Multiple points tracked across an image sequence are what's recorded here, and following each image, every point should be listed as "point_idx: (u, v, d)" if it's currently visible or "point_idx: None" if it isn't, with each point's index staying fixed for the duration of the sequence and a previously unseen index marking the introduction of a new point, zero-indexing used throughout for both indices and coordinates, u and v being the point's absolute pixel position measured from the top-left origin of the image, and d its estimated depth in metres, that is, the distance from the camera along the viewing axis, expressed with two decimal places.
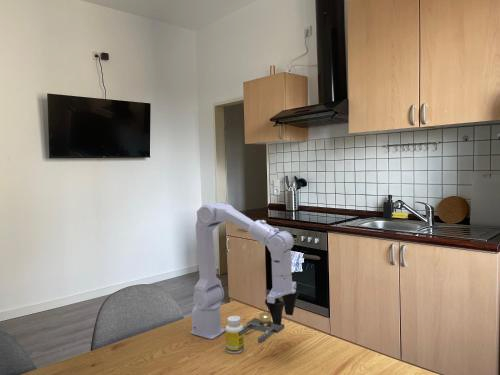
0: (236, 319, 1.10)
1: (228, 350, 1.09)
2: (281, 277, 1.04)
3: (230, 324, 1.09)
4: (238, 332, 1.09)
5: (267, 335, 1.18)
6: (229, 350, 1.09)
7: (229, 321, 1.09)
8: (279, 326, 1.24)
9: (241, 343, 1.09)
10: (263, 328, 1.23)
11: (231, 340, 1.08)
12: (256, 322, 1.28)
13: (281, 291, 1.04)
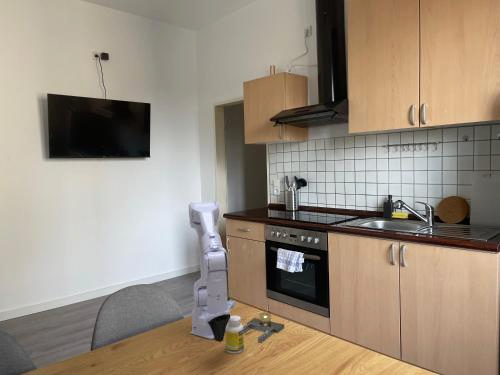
0: (236, 319, 1.10)
1: (228, 350, 1.09)
2: (214, 298, 1.01)
3: (230, 324, 1.09)
4: (238, 332, 1.09)
5: (267, 335, 1.18)
6: (229, 350, 1.09)
7: (229, 321, 1.09)
8: (279, 326, 1.24)
9: (241, 343, 1.09)
10: (263, 328, 1.23)
11: (231, 340, 1.08)
12: (256, 322, 1.28)
13: (215, 312, 1.01)
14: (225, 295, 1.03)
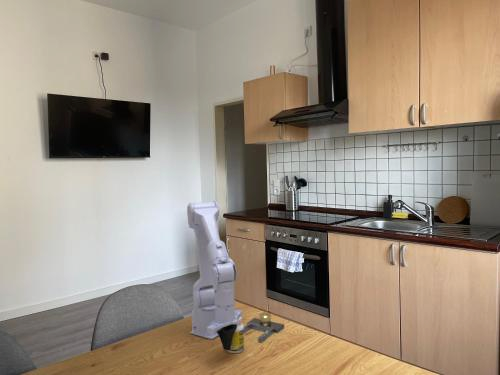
0: None
1: None
2: (222, 308, 1.04)
3: None
4: (239, 332, 1.09)
5: (267, 335, 1.18)
6: None
7: None
8: (279, 326, 1.24)
9: (241, 343, 1.10)
10: (263, 328, 1.23)
11: (232, 339, 1.09)
12: (256, 322, 1.28)
13: (223, 322, 1.04)
14: (233, 305, 1.06)
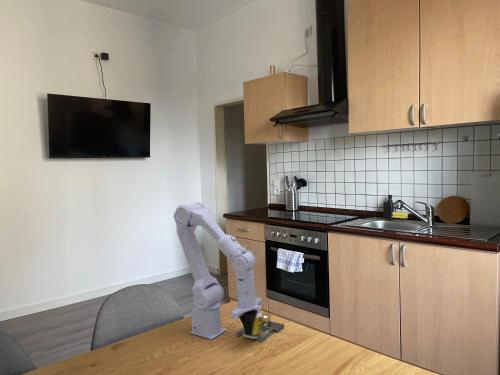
0: None
1: (246, 334, 1.16)
2: (244, 294, 1.13)
3: None
4: (258, 318, 1.17)
5: (267, 335, 1.18)
6: (247, 334, 1.16)
7: None
8: (279, 326, 1.24)
9: (259, 330, 1.17)
10: (263, 328, 1.23)
11: None
12: None
13: (245, 307, 1.13)
14: (253, 292, 1.14)
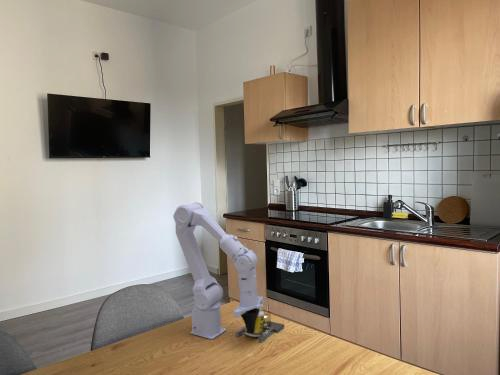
0: None
1: (248, 333, 1.17)
2: (247, 293, 1.14)
3: None
4: (260, 316, 1.18)
5: (267, 335, 1.18)
6: (249, 333, 1.17)
7: None
8: (279, 326, 1.24)
9: (261, 328, 1.18)
10: (263, 328, 1.23)
11: None
12: None
13: (247, 306, 1.14)
14: (256, 291, 1.15)
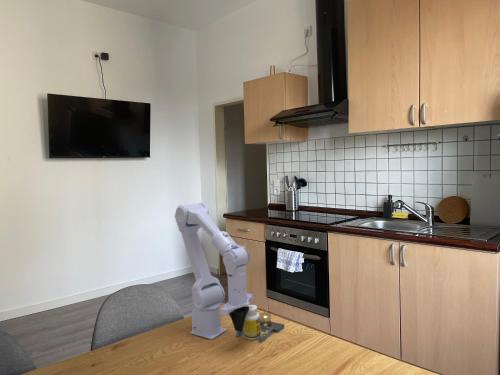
0: (253, 308, 1.17)
1: (247, 337, 1.17)
2: (235, 291, 1.10)
3: (248, 313, 1.17)
4: (256, 320, 1.16)
5: (267, 335, 1.18)
6: (248, 337, 1.17)
7: None
8: (279, 326, 1.24)
9: (258, 330, 1.18)
10: (263, 328, 1.23)
11: (250, 328, 1.16)
12: None
13: (235, 304, 1.10)
14: (245, 289, 1.11)
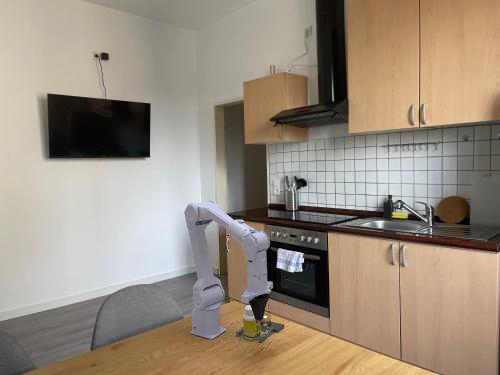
0: None
1: (246, 337, 1.17)
2: (256, 277, 1.04)
3: (247, 313, 1.17)
4: (255, 320, 1.17)
5: (267, 335, 1.18)
6: (247, 337, 1.17)
7: (246, 310, 1.17)
8: (279, 326, 1.24)
9: (258, 330, 1.18)
10: (263, 328, 1.23)
11: (249, 327, 1.16)
12: None
13: (256, 291, 1.04)
14: (265, 275, 1.06)
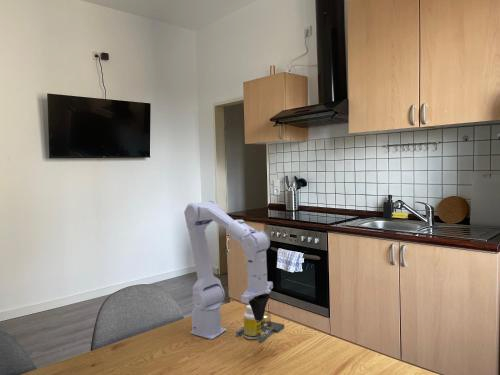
0: None
1: (246, 336, 1.18)
2: (256, 277, 1.04)
3: (249, 311, 1.18)
4: None
5: (267, 335, 1.18)
6: (247, 336, 1.17)
7: (248, 308, 1.18)
8: (279, 326, 1.24)
9: (258, 330, 1.18)
10: (263, 328, 1.23)
11: (250, 326, 1.17)
12: None
13: (256, 291, 1.04)
14: (265, 275, 1.06)
